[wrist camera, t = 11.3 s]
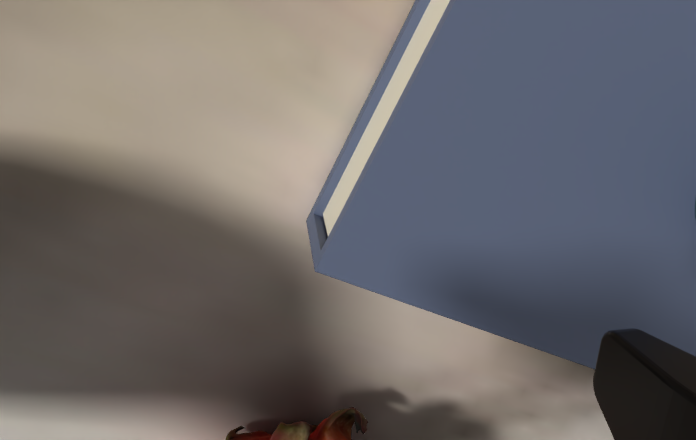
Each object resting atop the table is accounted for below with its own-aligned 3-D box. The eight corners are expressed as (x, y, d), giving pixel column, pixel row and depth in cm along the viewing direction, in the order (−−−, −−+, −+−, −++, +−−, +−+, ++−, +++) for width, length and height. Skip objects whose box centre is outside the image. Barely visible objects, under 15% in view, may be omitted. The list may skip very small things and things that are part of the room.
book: (654, 351, 26) (706, 408, 23) (306, 220, 21) (314, 271, 18) (859, 92, 22) (955, 120, 19) (485, -141, 17) (534, -153, 14)
